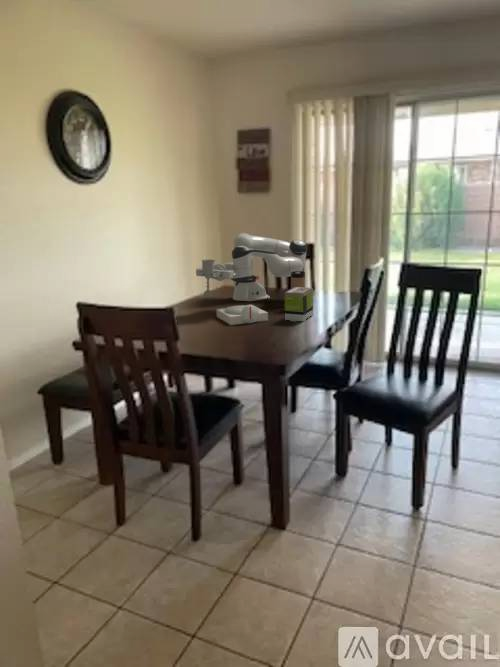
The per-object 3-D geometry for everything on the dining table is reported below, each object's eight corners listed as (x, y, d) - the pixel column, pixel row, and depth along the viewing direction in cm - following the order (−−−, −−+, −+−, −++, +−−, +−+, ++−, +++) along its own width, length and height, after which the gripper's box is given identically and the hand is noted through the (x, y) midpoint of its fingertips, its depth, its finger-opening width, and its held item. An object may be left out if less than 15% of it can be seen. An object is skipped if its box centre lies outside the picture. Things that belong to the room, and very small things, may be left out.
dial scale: (252, 312, 266) (251, 295, 264) (269, 321, 247) (269, 303, 245) (216, 316, 259) (216, 299, 256) (231, 325, 240) (231, 307, 237)
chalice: (201, 294, 257) (201, 259, 253) (214, 294, 258) (215, 259, 253) (200, 296, 250) (200, 260, 246) (214, 297, 250) (214, 261, 246)
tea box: (295, 314, 261) (295, 286, 257) (313, 315, 256) (314, 287, 252) (284, 320, 248) (284, 291, 244) (303, 322, 243) (303, 292, 239)
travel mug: (306, 307, 276) (306, 271, 270) (303, 310, 269) (303, 273, 263) (292, 306, 278) (292, 271, 273) (289, 309, 271) (289, 273, 266)
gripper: (238, 279, 259) (225, 282, 247) (204, 276, 268) (190, 279, 256) (238, 267, 258) (225, 269, 246) (204, 264, 266) (190, 267, 254)
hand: (207, 274), depth 251 cm, fingers closed on chalice, 5 cm apart
